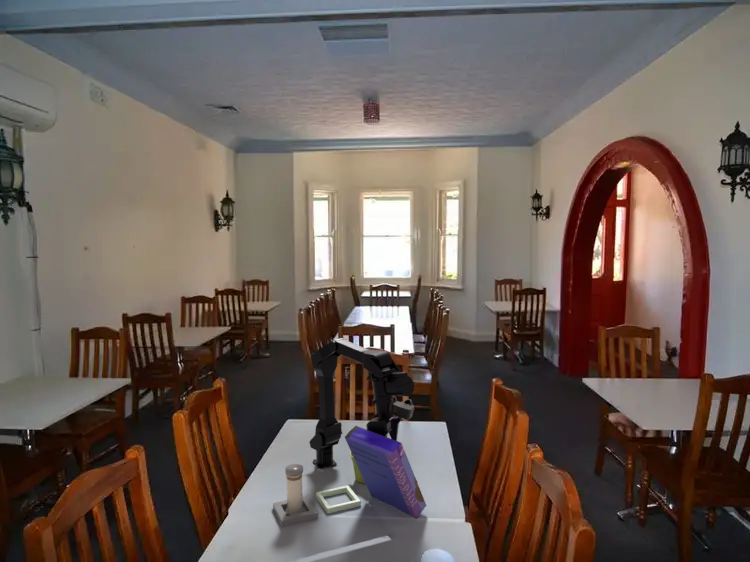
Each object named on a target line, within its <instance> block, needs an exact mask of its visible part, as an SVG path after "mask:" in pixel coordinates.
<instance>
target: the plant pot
mask: <svg viewBox="0 0 750 562" xmlns="http://www.w3.org/2000/svg"><path fill="white" fill-rule="evenodd" d="M349 456H350V457H351V462H352V464H353V473H354V479H355V481H356V482H358V483H362V484H366V483H365V481H364V479H363V476H362V474H361V472H360V470H359V468H358V465H357V463H356V461H355V459H354V457H353V455H352V452H351V451H350V452H349Z"/></svg>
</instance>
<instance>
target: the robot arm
mask: <svg viewBox="0 0 750 562" xmlns="http://www.w3.org/2000/svg"><path fill="white" fill-rule="evenodd" d="M341 356H343V357H346V358H348V359H351V360H353V361H355V362H358V363H360V364H361V366H362V368H363V369H364V370H366V371H367V372H368V373H369V374H368V376H367V377H366V380H367V381H371V383H372V392H373V399H372V400H371V401H372V404H373V405H374V407H375V413H373V418H372V419H371V420H369V421H368V422H367V423H366V426H365V427H366V430H369V431H371V432H374V433H377V434H379V435H382V436H385V437H387V438H388V434H389V438H390V439H393V440H395V441H398V434H399V428H400V427H399V426H400V422H401V421H402V420H406V421H409V420H410V419H411V418H412V417H413V414H414V411H415V409H416V408H415V405H414V403H413V399H411V398H410V399H409V398H406V399H405V401H398V399H397V397H410V396H412V394H414V391H415V382H414V380H413V378H412V377H411V376H409V373H408V371H401V369H400V368H399V366H398V365H397V364H396V362H395V361H394V359H393V358H392V356H391V354H390V353H389V352H388V351H385V350H379V349H378V350H377V349H374V350H373V349H368V348H367V347H364V346H361V345H358V344H356V343H353V342H351V341H349V340H346V339H345V338H342V337H340V338H335V339H331V340H330V341H329V342H327V344H325V345H323V346H322V347H320V348H319V349H316V350H314V351H313V352H312V353H311V358H310V359H311V364H312V369H313V370H314V372H315V373H316V375H317V381H318V382H317V383H318V384H317V385H318V403H319V406H318V407H319V419H318V422H317V423H316V425H315V433H314V436H313V437H312V438H311V439H310V440H309V446H310V448H311V449H313V450H315V455H316V456H315V459H313V460H312V462H313V463H314V465H315V466H316V468H318V469H325V468H329V467H334V466H335V467H336V466H337V464H338V463H337V462H336V461H335V460H334V446H336V445H338V444H339V443H340V440H341V437H342V435H343V430H342V422H341V421H338V419H337V418H336V416H335V415H336V413H335V394H334V390H335V389H334V388H335V387H334V373H335V371H336V369H337V368H338V358H340V357H341Z"/></svg>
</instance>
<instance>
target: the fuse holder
mask: <svg viewBox="0 0 750 562" xmlns="http://www.w3.org/2000/svg"><path fill="white" fill-rule="evenodd" d="M303 507H304V512H302V513H298V514H294V515H289V516H287V514H286V509H287V499H286V500H281V501H276V502H273V503H272V509H273V511H274V513H275V515H276V518H277V519H278V521H279V524H280V525H281V527H286V526H290V525H295V524H299V523H303V522H307V521H311V520H315V519H316V520H317V519H319V512H318V510H317V509H316V507H315V505H314V504H313V502H312V501H311V499H310V498H309V496H308V495H305V496H304V495H303Z"/></svg>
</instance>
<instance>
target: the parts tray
mask: <svg viewBox="0 0 750 562" xmlns="http://www.w3.org/2000/svg"><path fill="white" fill-rule="evenodd" d="M344 493H346V494H347V495H348V497H349V498H350V499H351V501H350V500H349V501H347V502H342V503H338V504H333V505H330V504H329V503H328V502H327V501H326V499H325V497H330V496H331V497H332V496H335V495H339V494H344ZM315 494H316V496H315V497H316V499H317V501H318V502H319V503H320V505H321V506H322V509H324V510H325V512H326V514H331V513H336V512H341V511H343V510H344V511H345V510H348V509H353V508H357V507H361V506H362V505H361V503H362V502H361V499H360V498H359V496H357V495H356V493H355V492H354V490H353V489H352V488H351V487H350V486H349V485H342V486H338V487H334V488H330V489H324V490H320V491H316V493H315Z"/></svg>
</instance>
